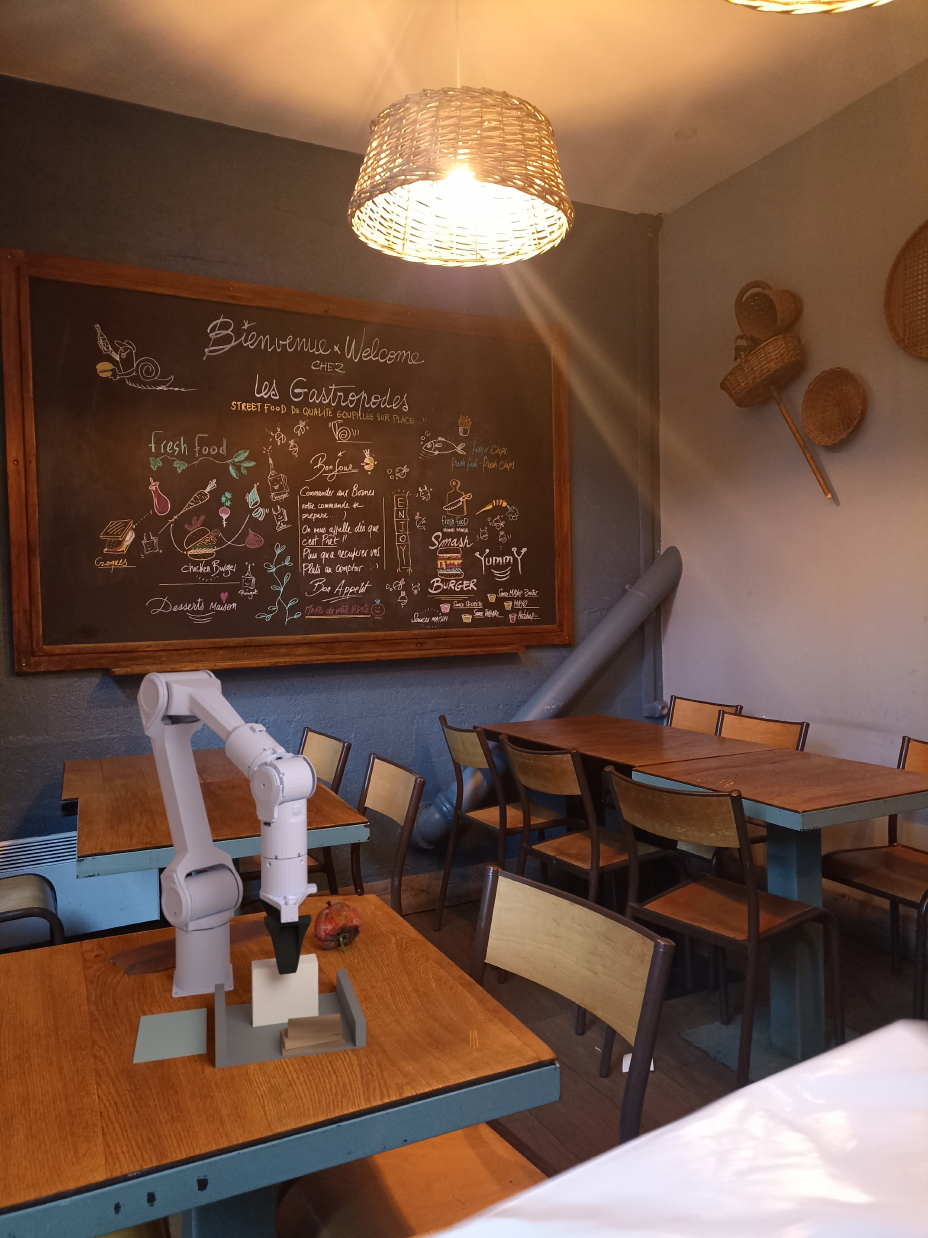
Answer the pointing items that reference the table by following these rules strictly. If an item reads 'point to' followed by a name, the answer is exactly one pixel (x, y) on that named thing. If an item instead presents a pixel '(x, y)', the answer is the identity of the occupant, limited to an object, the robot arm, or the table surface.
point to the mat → (171, 1035)
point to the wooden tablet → (165, 951)
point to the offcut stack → (312, 1034)
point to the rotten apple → (337, 925)
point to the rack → (280, 1027)
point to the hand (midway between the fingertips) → (285, 961)
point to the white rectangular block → (284, 991)
